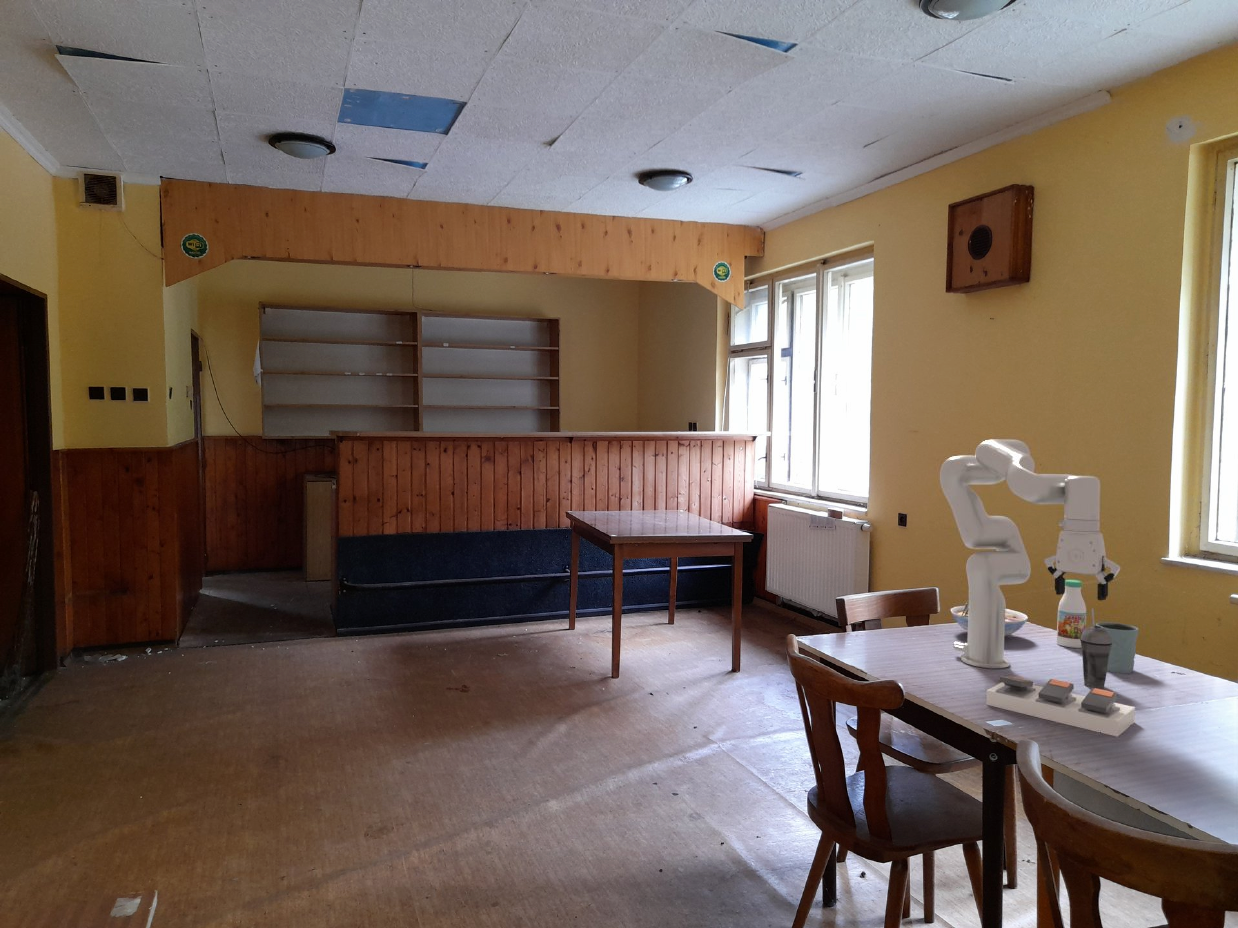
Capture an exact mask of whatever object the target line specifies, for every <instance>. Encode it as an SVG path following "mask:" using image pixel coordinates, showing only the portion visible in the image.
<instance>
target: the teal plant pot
mask: <svg viewBox="0 0 1238 928" xmlns="http://www.w3.org/2000/svg"><path fill="white" fill-rule="evenodd" d="M1095 626H1100V627H1102V628H1104V629H1106V630H1107V631H1108V633H1109V634H1110V636H1111V639H1112V645H1111V650H1110V652H1109V659H1108V666H1107V672H1109V673H1116V674H1131V673H1133V671H1134V666H1135V656H1136V650H1137V649H1136V648H1137V647H1136V646H1137V640H1138V634H1139V628H1138V627H1136V626H1134V625H1131V624H1125V623H1120V622H1119V623H1118V622H1111V621H1110V622H1107V621H1105V622H1097V623H1095Z"/></svg>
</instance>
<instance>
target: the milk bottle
mask: <svg viewBox="0 0 1238 928" xmlns="http://www.w3.org/2000/svg"><path fill="white" fill-rule="evenodd" d="M1082 586H1083V582H1082V581H1081V580H1078V579H1077V580H1076V579H1065V593H1064V594H1062V597H1061V598H1060V600H1059V604H1058V609H1057V622H1056V623H1057V626H1056V628H1057V629H1056V643H1057V644H1058V645H1060V646H1062V647H1067V648H1074V649H1082V648H1081V641H1080V639H1081V635H1082V633H1083V631H1084V630H1085V629H1086V628H1087V606H1086V602H1085V600H1084V598H1083V596H1082V591H1081V589H1083V587H1082Z"/></svg>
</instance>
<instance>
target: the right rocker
mask: <svg viewBox="0 0 1238 928" xmlns="http://www.w3.org/2000/svg"><path fill="white" fill-rule="evenodd" d="M1117 699H1118V692H1114V691H1110V690H1106V689H1105V690H1104V689H1102V688H1091V689H1090V691H1088V693H1087V695H1086V697H1085V698H1084V700H1083V701H1082V702H1081V708H1085V709H1090V710H1094V711H1099V712H1103V713H1107V712H1108V710H1109V709H1112V705H1113V703H1116V701H1117Z"/></svg>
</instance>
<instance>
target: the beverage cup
mask: <svg viewBox="0 0 1238 928" xmlns="http://www.w3.org/2000/svg"><path fill="white" fill-rule="evenodd" d="M1094 611H1095V610H1094V608H1091V621H1092V625H1091V626H1088V627H1086V629H1085V630H1084V631H1083V633H1082V635H1081V639H1080V641H1081V648H1080V649H1081V652H1082V655H1081V657H1082V671H1083V673H1082V674H1083V682H1084V683H1083V684H1084V686H1085V687H1088V688H1091V689H1092V688H1097V689H1104V688H1105V684H1106V681H1107V680H1106V679H1107V672H1108V671H1107V666H1108V659H1109V652H1110V650H1111V645H1112V639H1111V636H1110V634H1109V633H1108V631H1107V630H1106V629H1104V628H1102V627H1100V626H1096V623H1095V613H1094Z"/></svg>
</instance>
